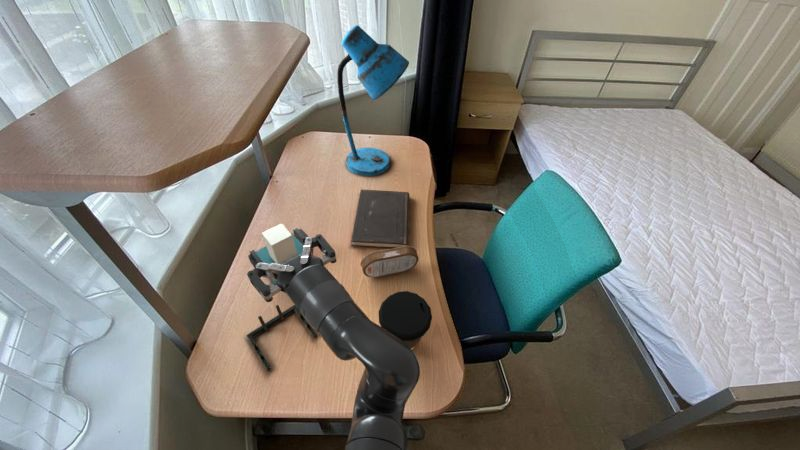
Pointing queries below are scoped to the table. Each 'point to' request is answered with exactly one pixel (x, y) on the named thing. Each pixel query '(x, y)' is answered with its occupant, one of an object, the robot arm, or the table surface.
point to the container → (279, 243)
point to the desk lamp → (369, 90)
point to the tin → (389, 261)
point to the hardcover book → (381, 219)
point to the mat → (267, 259)
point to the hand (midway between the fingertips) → (274, 241)
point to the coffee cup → (405, 316)
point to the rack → (271, 322)
